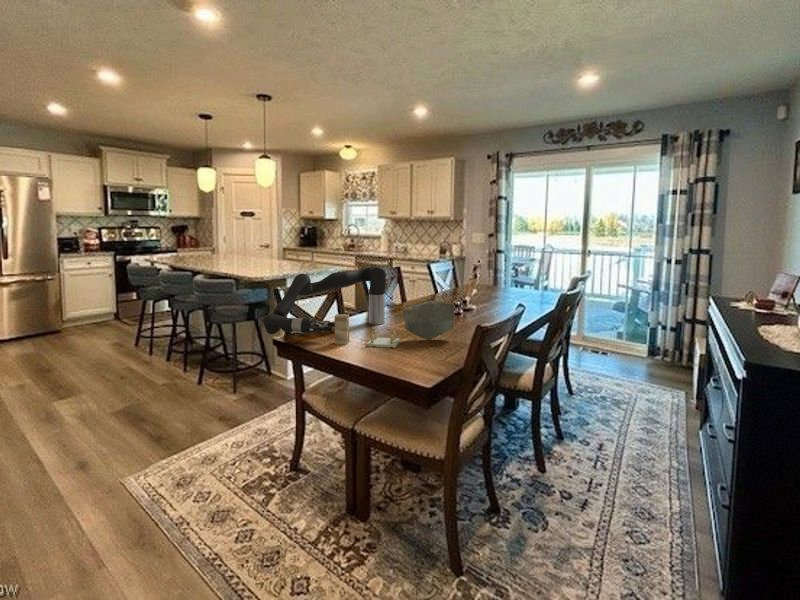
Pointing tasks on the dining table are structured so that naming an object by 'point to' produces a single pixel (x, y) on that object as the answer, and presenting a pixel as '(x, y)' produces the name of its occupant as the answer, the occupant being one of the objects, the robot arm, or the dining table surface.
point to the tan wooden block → (341, 329)
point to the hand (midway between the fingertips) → (334, 326)
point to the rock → (429, 319)
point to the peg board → (383, 340)
